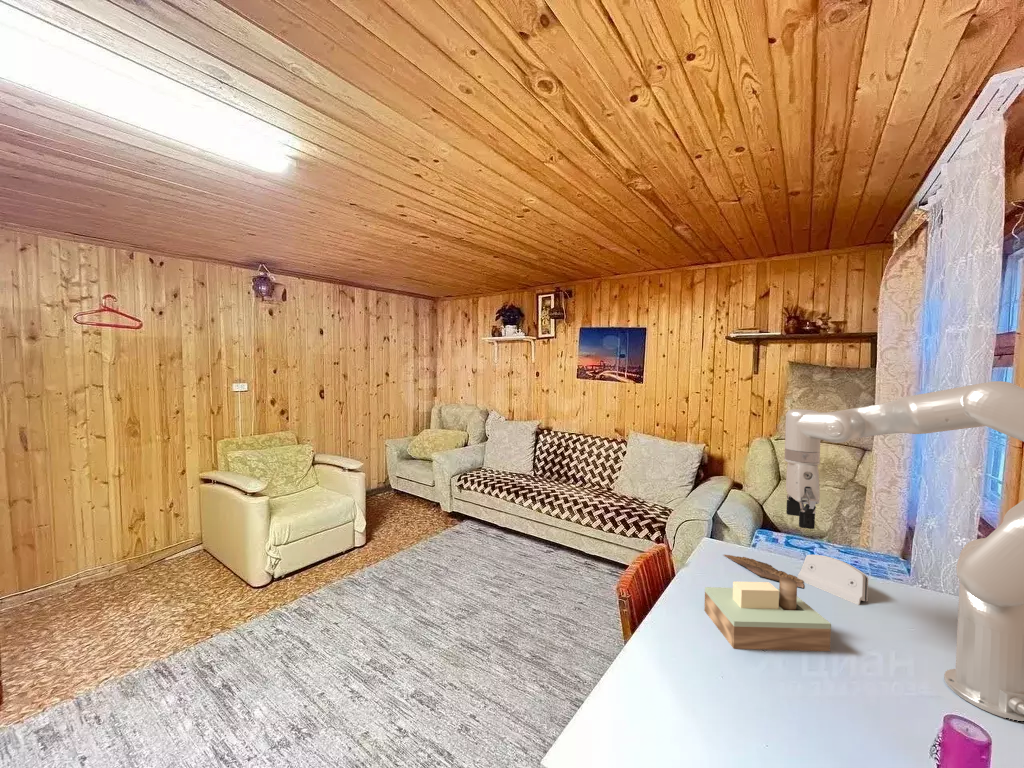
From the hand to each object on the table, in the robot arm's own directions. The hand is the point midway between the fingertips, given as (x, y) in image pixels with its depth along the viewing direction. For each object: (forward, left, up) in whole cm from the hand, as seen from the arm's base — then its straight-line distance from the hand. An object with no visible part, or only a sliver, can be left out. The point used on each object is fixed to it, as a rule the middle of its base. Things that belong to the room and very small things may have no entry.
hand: (799, 521), depth 107 cm
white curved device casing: (+16, -21, -26) cm, 37 cm away
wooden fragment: (+26, -6, -26) cm, 38 cm away
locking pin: (-7, +7, -25) cm, 27 cm away
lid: (-7, +13, -20) cm, 25 cm away
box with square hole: (-7, +13, -26) cm, 30 cm away
